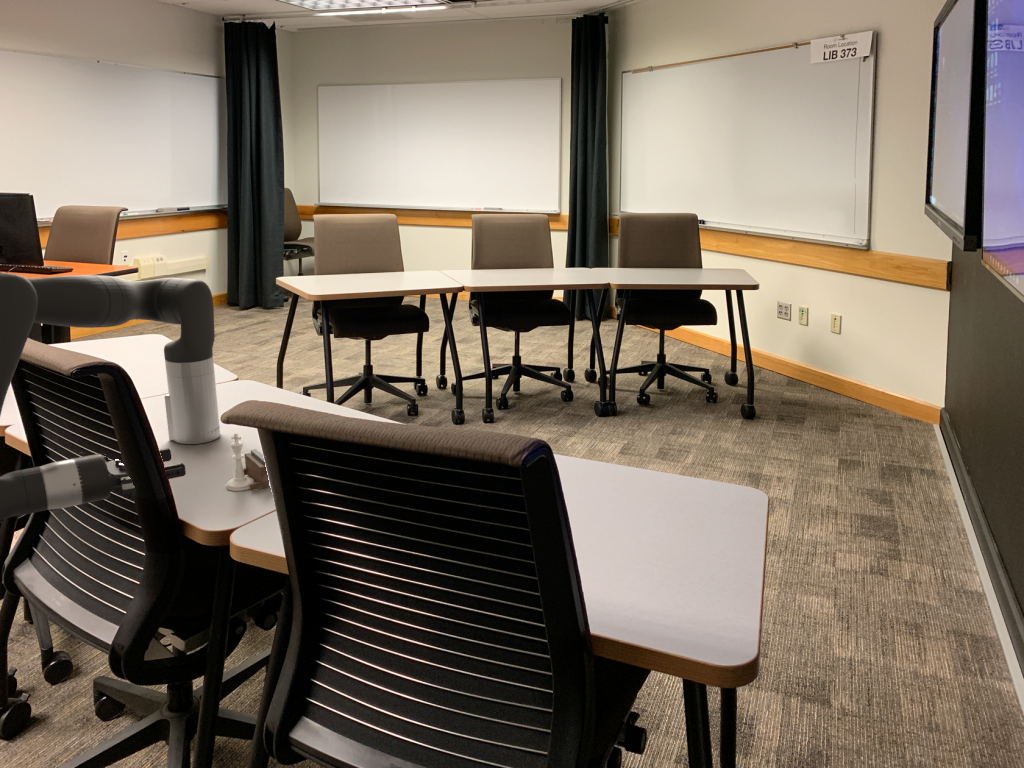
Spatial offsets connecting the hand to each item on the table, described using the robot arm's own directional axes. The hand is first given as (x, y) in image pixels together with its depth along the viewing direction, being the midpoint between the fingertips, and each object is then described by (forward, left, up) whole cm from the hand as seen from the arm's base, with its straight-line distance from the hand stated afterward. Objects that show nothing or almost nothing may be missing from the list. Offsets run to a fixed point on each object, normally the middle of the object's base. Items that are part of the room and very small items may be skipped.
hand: (177, 461), depth 151 cm
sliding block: (+9, +10, -7) cm, 15 cm away
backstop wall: (+9, +11, -7) cm, 16 cm away
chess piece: (+7, +8, -7) cm, 13 cm away
